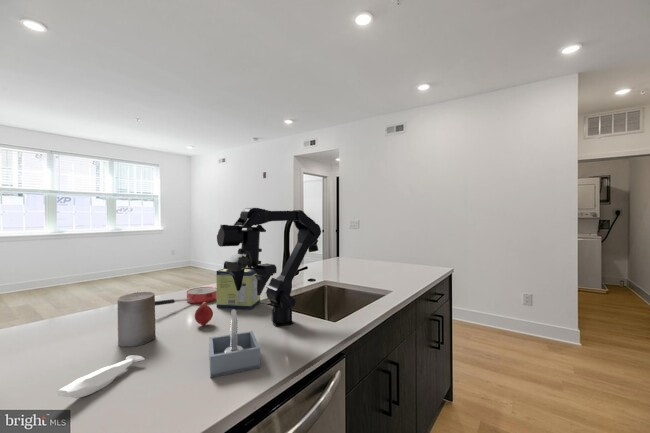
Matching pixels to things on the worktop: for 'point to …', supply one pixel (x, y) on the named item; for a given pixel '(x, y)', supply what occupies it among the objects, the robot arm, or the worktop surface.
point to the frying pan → (195, 296)
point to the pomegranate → (203, 314)
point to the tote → (233, 354)
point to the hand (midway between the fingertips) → (248, 292)
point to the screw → (233, 334)
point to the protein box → (234, 298)
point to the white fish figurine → (96, 379)
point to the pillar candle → (136, 319)
